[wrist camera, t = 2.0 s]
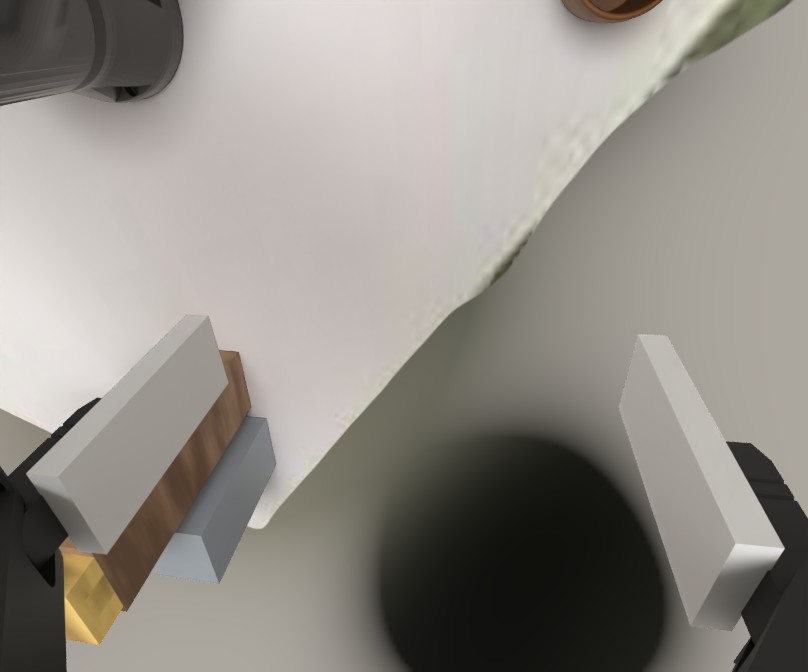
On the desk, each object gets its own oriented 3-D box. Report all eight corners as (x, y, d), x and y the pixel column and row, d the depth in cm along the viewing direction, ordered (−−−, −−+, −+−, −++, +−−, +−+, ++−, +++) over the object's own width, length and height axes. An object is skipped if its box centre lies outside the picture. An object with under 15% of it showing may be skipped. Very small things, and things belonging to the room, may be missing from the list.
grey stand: (194, 454, 80) (118, 568, 64) (179, 409, 75) (91, 521, 58) (276, 464, 79) (219, 583, 62) (266, 418, 73) (200, 536, 57)
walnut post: (175, 399, 74) (17, 593, 49) (157, 345, 68) (-33, 533, 43) (251, 407, 72) (126, 611, 47) (238, 352, 67) (90, 550, 42)
